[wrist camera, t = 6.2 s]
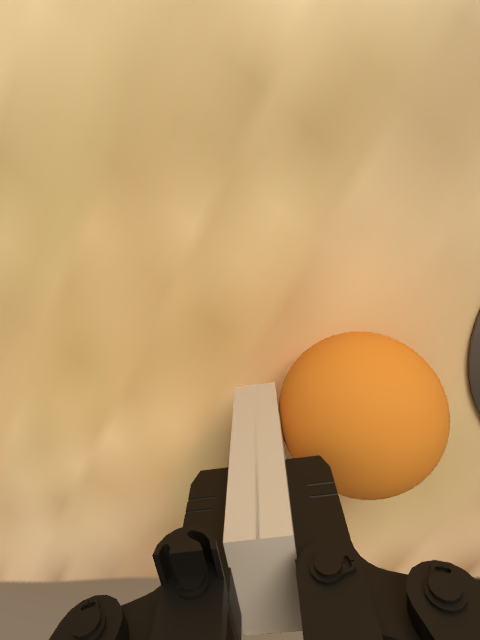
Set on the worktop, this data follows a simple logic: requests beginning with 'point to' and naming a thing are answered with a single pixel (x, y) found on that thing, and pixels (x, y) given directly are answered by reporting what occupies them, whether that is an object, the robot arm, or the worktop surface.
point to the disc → (475, 362)
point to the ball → (366, 413)
